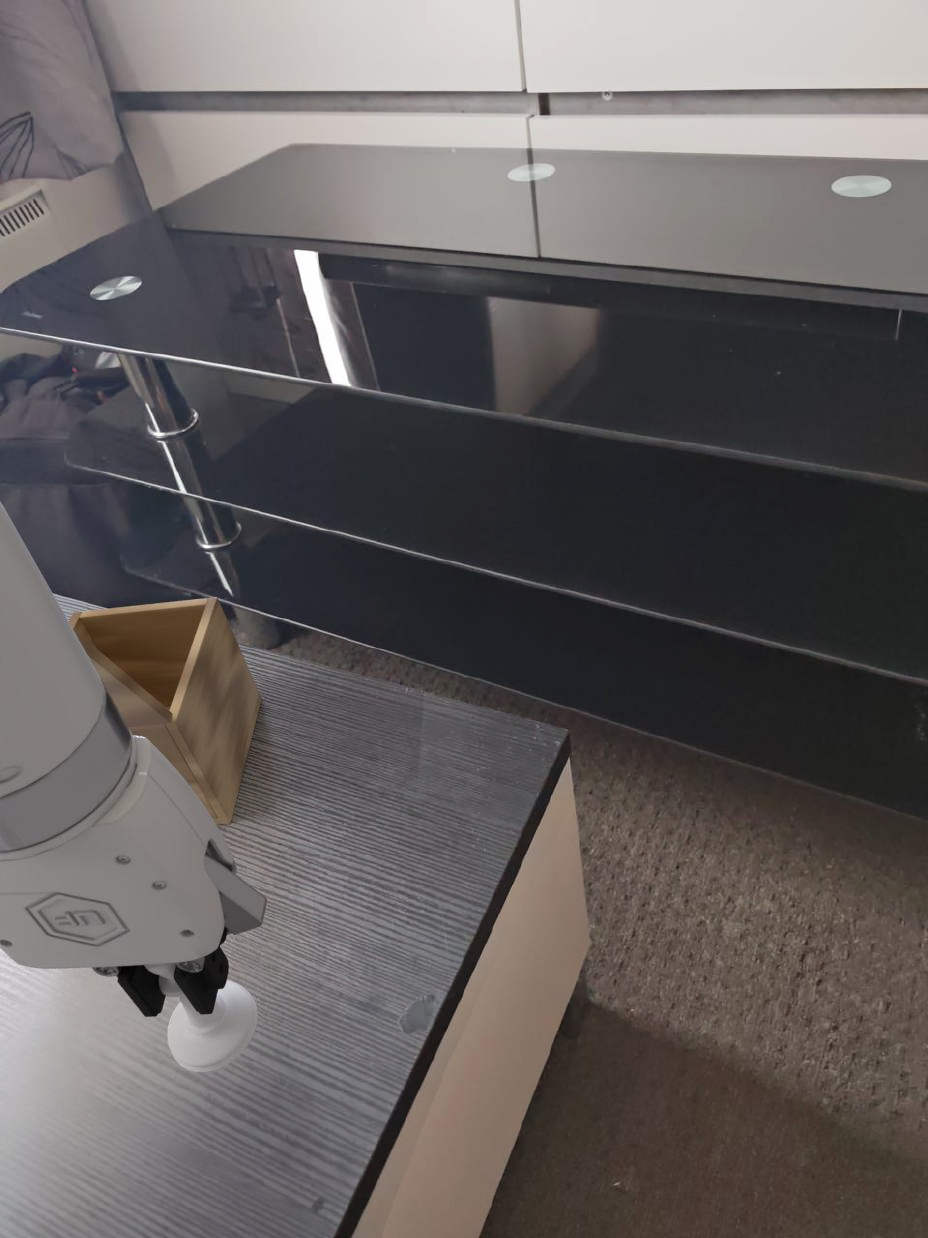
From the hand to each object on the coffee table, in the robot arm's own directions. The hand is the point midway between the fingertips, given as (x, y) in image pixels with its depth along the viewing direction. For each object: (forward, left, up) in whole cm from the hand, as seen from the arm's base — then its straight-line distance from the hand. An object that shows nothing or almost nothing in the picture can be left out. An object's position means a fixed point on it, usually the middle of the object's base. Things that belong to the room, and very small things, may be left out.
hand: (186, 986), depth 48 cm
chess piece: (0, 0, -5) cm, 5 cm away
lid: (-5, +22, +5) cm, 23 cm away
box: (-2, +30, -14) cm, 34 cm away
